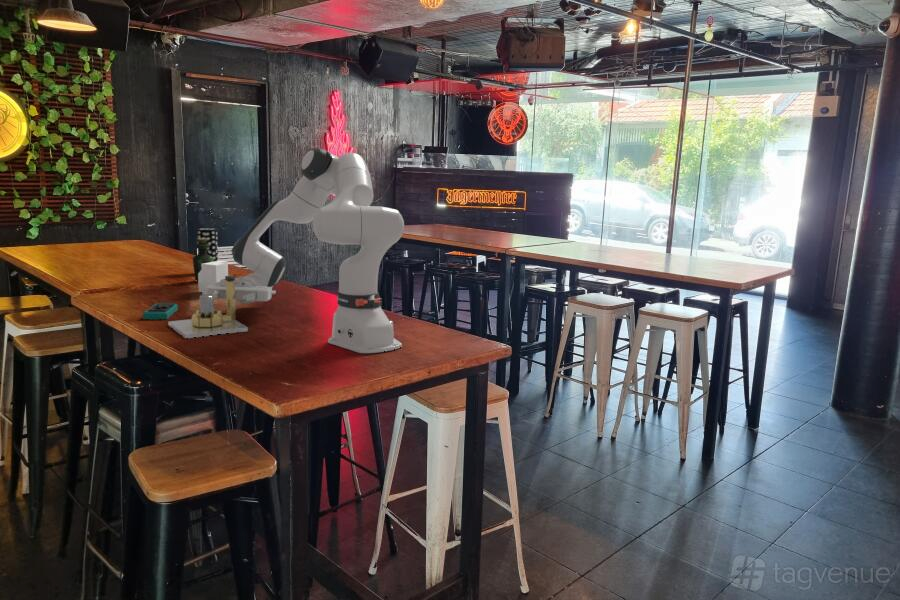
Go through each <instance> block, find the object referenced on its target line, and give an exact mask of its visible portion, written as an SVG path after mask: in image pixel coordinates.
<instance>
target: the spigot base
mask: <svg viewBox="0 0 900 600" xmlns="http://www.w3.org/2000/svg"><path fill="white" fill-rule="evenodd" d="M199 310H200V314H201V318H210V317H211V316H210V314H214V310H215V299H214V295H203V294H201V295H199ZM193 314H196V312H194V313H192V315H193ZM167 323H168V325H167V326H169V327H170V328H171V329H172V328H173V329H172V330H174V332H176V333H178V334H179V335H180V336H181V335H182V338H184V339H185V340H186V338H188V339H195V338H194V337H196V338H203V337H202V336H204V337H210V336H209V335H213V336H218V335H217V334H221V335H227V334H226V333H229V334H236V333H237V332H238V333H244V332H245V333H247V332H249V329H248V326H246V325H245V324H243V323H241V322H240V321H238V320H236V319H234V320H228V321H223V323H222V324H221V325H218V326H213V327H198V326H194V325H192V318H190V319H189V318H187V319H180V320H170V321H167Z"/></svg>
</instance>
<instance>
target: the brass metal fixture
mask: <svg viewBox="0 0 900 600" xmlns="http://www.w3.org/2000/svg"><path fill="white" fill-rule="evenodd" d="M235 278H236V275H228V276H225V280H226V299H225V302H226V305H225V306H226V314H223V313H222V310H221V309H214V314H210V316H211V317H210V318H201V314H200V309H198V310H196V311H195V313H196V314H193V313H192V316H191V319H192V325H194V326H198V327H213V326H218V325H221V324H222V323H223V321H228V320H236V317H237V316H236V301H235Z"/></svg>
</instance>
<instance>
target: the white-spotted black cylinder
mask: <svg viewBox="0 0 900 600" xmlns="http://www.w3.org/2000/svg"><path fill="white" fill-rule="evenodd" d="M196 233H197V234H196V235H197V237H196V238H197V239H198V238H206V239H207V242H206V244H209V246H210V247H209V248H207V253H206V254H208V255H210V256H212V258H213V262H215V261H219V249H218V248H219V245H218V244H219V242H218V229H217V228H215V227H214V228H213V227H212V228H211V227H210V228H209V227H202V228H197V229H196ZM197 244H199V243H198V242H197ZM198 254H199V251H198V250H197V255H198Z"/></svg>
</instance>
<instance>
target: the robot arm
mask: <svg viewBox="0 0 900 600" xmlns="http://www.w3.org/2000/svg"><path fill="white" fill-rule="evenodd" d="M300 163H301V164H300V172H301V174H302V177H301V178H300V179H299V180H298V182H297V183H296V185H295V186H294V188H293V190H292V191H291V192H290V194H289V195H288V196H287V197H285V198H284V199H277V200H275V201H274V202H272V203H271V204H270V205H268V207H267V208H266V209H265V210H264V211H263V213H261V215H260V216H259V217H258V218H257V219H256V221H255V222H253V224H252V225H251V226H250V227H249V229H248V230H247V231H246V232H245V233H244V234H243V235H242V236H241V237H240V238H239V239H237V241H236V242H235V243H234V244H233V247H232V249H231V256H232V259H233V260H234V262H236V263H237V264H239V265H241V266H243V267H245V268H247V269H249V270H250V271H252V273H250V274H248V275H244V276H239V277H235V302H239V303H242V304H246V305H247V304H251V303H253V302H268V301H270V300H271V299H272V295H273V296H274V295H275V294H276V293H277V291H276V290H273V288H274V286H276V285H278V284H279V283H280V281H281V280H282V278H283V277H284V275H285V273H286V271H287V263H286V260H285V257H284V256H282V255H281V254H279V253H278V252H276V251H275V250H273V249H271V248H270V247H268V246H266V245H265V244H264V243H262V242H260V238H261V236H262V235H263V234H264V233H265V232H266V231H267V230H268V228H269V227H270V226H271V225H272V224H273V223H274V222H276V221H285V222H288V223H292V224H298V225H299V224H300V225H301V224H302V225H304V224H309V223H311V222H312V230H313V233H314V234H315V237H316V239H318V240H319V241H320V242H323V243H327V244H333V245H359V246H360V249H359V251H358V252H357V253H356V254H354V255H351V256H350V257H347V258H345V260H343V261H342V262H341V264H340V266H339V268H338V269H339V270H338V271H339V272H338V291H337V296H336V301H337V303H336V304H337V305H338V307H337V309H336V310H335V312H334V313H333V318H332V329H331V330H332V331H331V336H330V337H329V338H328V340H327V343H328V344H331V345H335V346H337V347H340V348H343V349H346V350H350V351H352V352H355V353H359V354H377V353H384V351H385V352H390V351H395V350H398V349H400V347H401V348H402V347H403V344H402V342H400V341H399V340H397V339H396V338H395V337H394V336H395V335H394V322H393V321H392V320H390V319H389V318H388V316H387V315H386V313H385V312H384V310H383V309H382V307H381V306H382V297H380V293H379V292H378V281H379V273H380V272H379V269H380V265H381V262H382V260H383V257H384V256H385V254H386V253H387V252H388V250H389V249H390V248H391V247H392V246H393V245H395V244H396V243H397V242H398V241H400V239H401V238H402V236H403V235H404V231H405V220H404V218H403V215H402V214H401V213H400V211H399V210H398V209H395V208H391V207H386V206H378V205H375V206H374V205H372V203H373V201H374V190H373V183H372V177H371V174H370V170H369V168H368V167H369V166H368V165H367V163H366V161H365V159H364V157H362V156H361V155H360V154H358V153H355V152H347V153H343V154H342V155H340V156H339V157H338V156H337V155H335V154H332V153H331V152H330V151H327V149H326V150H325V149H323V148H320V147H313V148H310V149H309V150H308V151H307V152H306V153H305V154H304V156H303V158H302V160H301V162H300ZM330 195H335V196H334V198H333V200H332V201H330V202H329V203H327V204H326V202H327V200H328V198H329V196H330ZM325 204H326V205H325ZM206 294H207V295H214V300H226V280H225V279H221V280H220V282H217V283H214V284H212V285H210V286H208V287H207V289H206ZM394 349H395V350H394Z"/></svg>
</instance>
